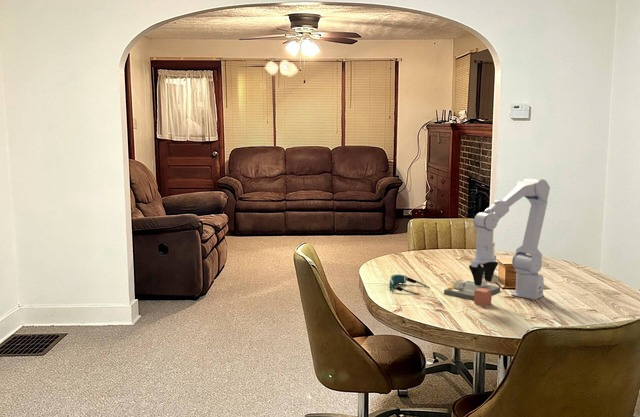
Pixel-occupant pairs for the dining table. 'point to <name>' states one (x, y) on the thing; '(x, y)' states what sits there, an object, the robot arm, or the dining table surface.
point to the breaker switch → (483, 282)
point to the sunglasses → (400, 279)
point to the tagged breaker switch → (458, 284)
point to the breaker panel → (469, 290)
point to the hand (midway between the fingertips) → (483, 283)
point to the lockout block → (482, 296)
